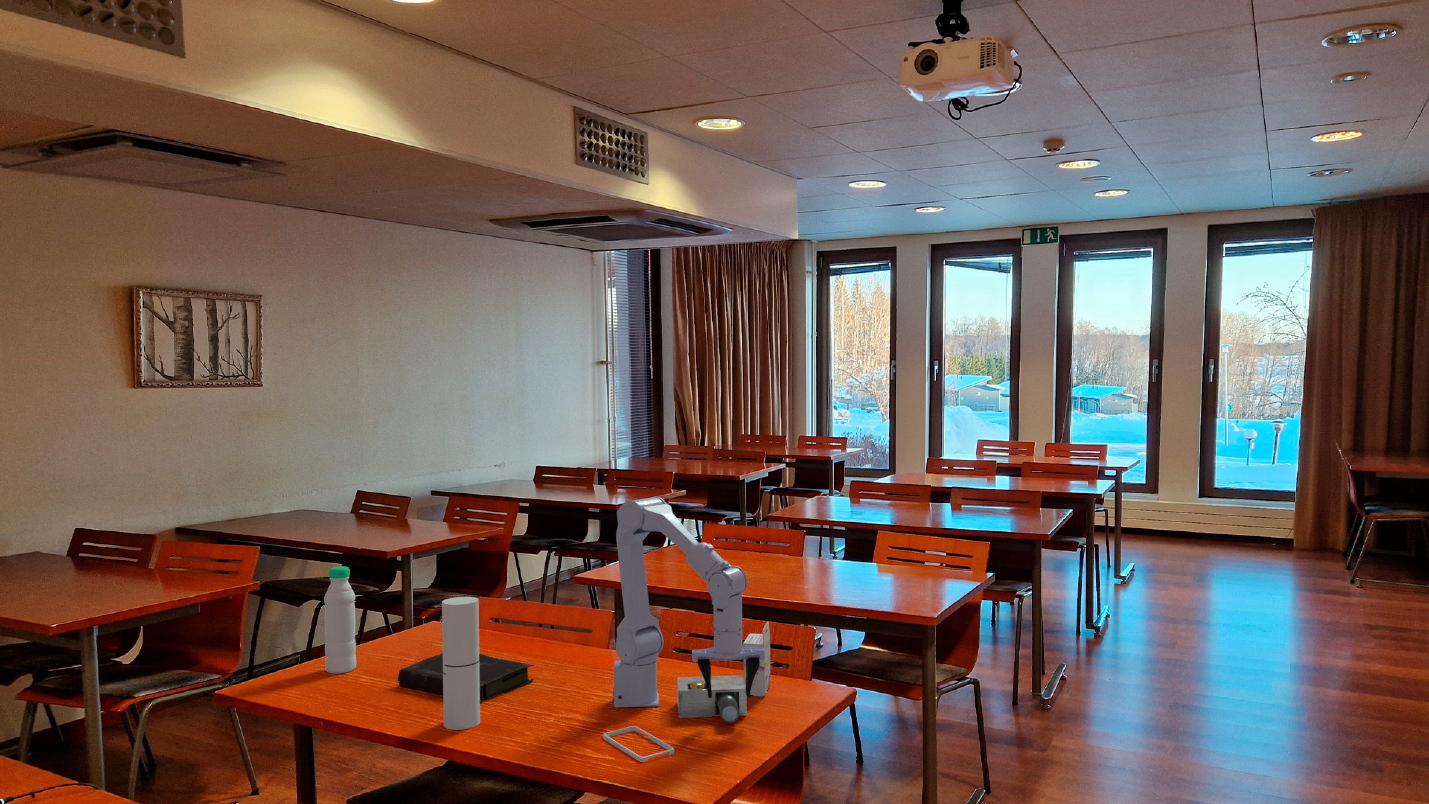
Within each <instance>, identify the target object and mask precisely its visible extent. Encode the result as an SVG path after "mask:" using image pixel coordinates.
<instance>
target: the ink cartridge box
mask: <svg viewBox="0 0 1429 804" xmlns="http://www.w3.org/2000/svg"><path fill="white" fill-rule="evenodd" d="M761 631H762V633H749V634H748V635H747V637H746V639H745V640H744V641H743V642H742V647H751V648H764V650H765V660H759V662H760V666H759V669H758V670H757V673H756V675H755V677H754V680H753V683H752V687H751V692H750V695H760V696H759V697H763V695H764V697H766V696H765V694H766V695H767V693H768V691H767V690H769V689H770V686H771V634H770V633H771V632H770V622H769V621H767V622H766V623H765V624H764V627H763V629H762V630H761ZM743 680H744V683H745V686H746V660H745V659H744V660H743ZM769 685H770V686H769ZM768 688H769V689H768Z"/></svg>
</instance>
